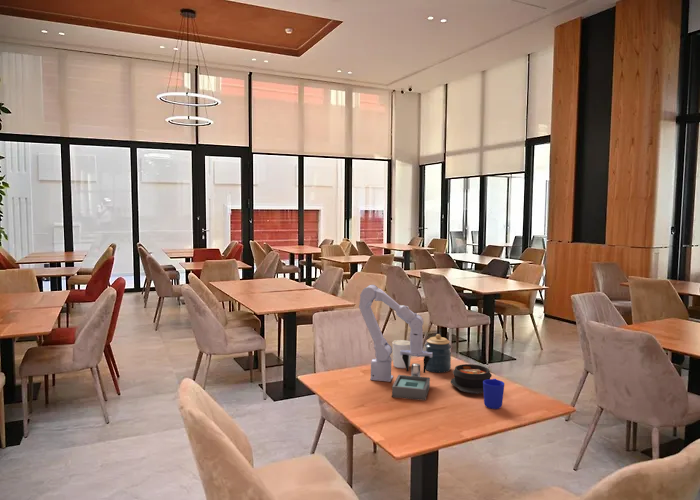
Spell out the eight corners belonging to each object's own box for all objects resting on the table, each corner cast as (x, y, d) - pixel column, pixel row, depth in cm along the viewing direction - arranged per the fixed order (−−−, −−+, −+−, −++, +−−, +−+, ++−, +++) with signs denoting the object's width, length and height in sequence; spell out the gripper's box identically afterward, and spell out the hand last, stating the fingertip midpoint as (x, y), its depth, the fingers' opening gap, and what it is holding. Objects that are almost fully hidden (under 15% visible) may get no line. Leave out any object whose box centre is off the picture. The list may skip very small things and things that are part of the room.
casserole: (449, 377, 237) (449, 359, 237) (489, 379, 234) (490, 361, 234) (451, 396, 213) (452, 376, 212) (496, 399, 210) (497, 379, 209)
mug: (504, 401, 207) (505, 377, 206) (503, 411, 196) (504, 387, 195) (483, 398, 210) (484, 375, 209) (481, 409, 199) (482, 384, 198)
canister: (444, 374, 240) (445, 338, 239) (420, 370, 247) (420, 334, 246) (454, 368, 251) (455, 333, 250) (430, 363, 258) (431, 329, 257)
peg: (410, 382, 229) (410, 365, 228) (411, 379, 232) (412, 363, 232) (419, 383, 228) (419, 366, 227) (420, 380, 231) (420, 363, 231)
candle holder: (388, 365, 253) (388, 342, 253) (399, 361, 261) (400, 339, 260) (403, 370, 247) (404, 346, 246) (415, 365, 254) (415, 342, 253)
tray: (391, 397, 211) (392, 386, 210) (398, 384, 226) (398, 374, 226) (425, 400, 207) (425, 389, 207) (429, 387, 222) (429, 377, 222)
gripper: (399, 343, 227) (398, 372, 228) (431, 345, 223) (431, 375, 224) (401, 339, 233) (401, 368, 234) (433, 341, 230) (432, 370, 231)
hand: (415, 371), depth 230 cm, fingers open, 7 cm apart
